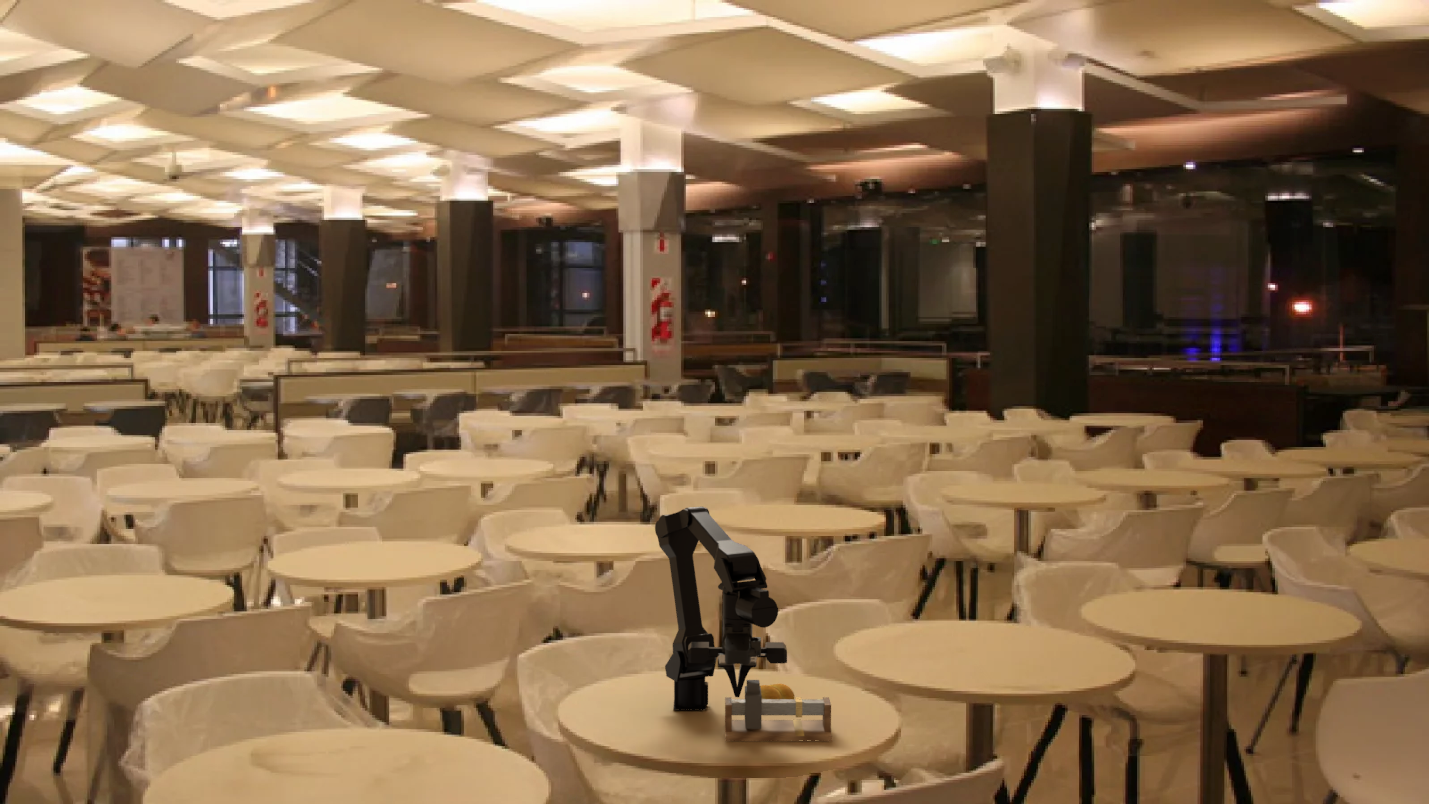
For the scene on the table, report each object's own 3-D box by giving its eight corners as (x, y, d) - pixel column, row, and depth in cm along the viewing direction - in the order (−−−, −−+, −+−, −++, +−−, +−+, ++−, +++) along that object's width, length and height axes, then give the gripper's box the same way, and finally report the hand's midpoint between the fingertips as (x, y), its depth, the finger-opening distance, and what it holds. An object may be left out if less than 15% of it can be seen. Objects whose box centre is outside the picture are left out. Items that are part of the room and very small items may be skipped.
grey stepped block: (745, 728, 274) (745, 686, 273) (744, 718, 280) (744, 677, 280) (761, 728, 274) (761, 686, 273) (760, 718, 280) (760, 677, 280)
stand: (725, 741, 272) (725, 708, 272) (724, 724, 282) (725, 693, 282) (832, 741, 272) (832, 709, 272) (827, 724, 282) (827, 693, 282)
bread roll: (801, 704, 297) (802, 685, 296) (766, 711, 292) (766, 692, 291) (778, 694, 303) (778, 675, 303) (742, 701, 299) (743, 682, 298)
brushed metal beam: (728, 717, 275) (728, 701, 275) (728, 712, 278) (728, 697, 278) (827, 717, 276) (827, 701, 275) (826, 712, 279) (826, 697, 278)
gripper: (687, 626, 267) (687, 709, 269) (788, 626, 267) (788, 709, 269) (688, 612, 278) (688, 692, 280) (785, 612, 278) (785, 692, 280)
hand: (737, 696), depth 277 cm, fingers closed
